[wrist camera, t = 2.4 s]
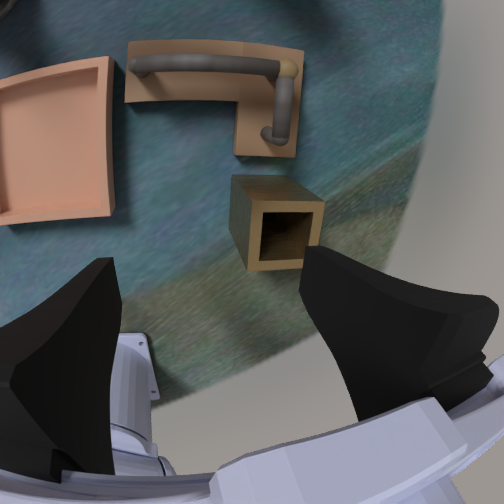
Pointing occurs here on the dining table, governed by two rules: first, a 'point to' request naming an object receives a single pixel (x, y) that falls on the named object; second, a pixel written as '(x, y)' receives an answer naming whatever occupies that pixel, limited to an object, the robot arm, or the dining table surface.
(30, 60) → the dining table surface
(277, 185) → the hollow wooden box
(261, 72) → the bent wire
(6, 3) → the dark grey chess piece
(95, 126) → the dish
